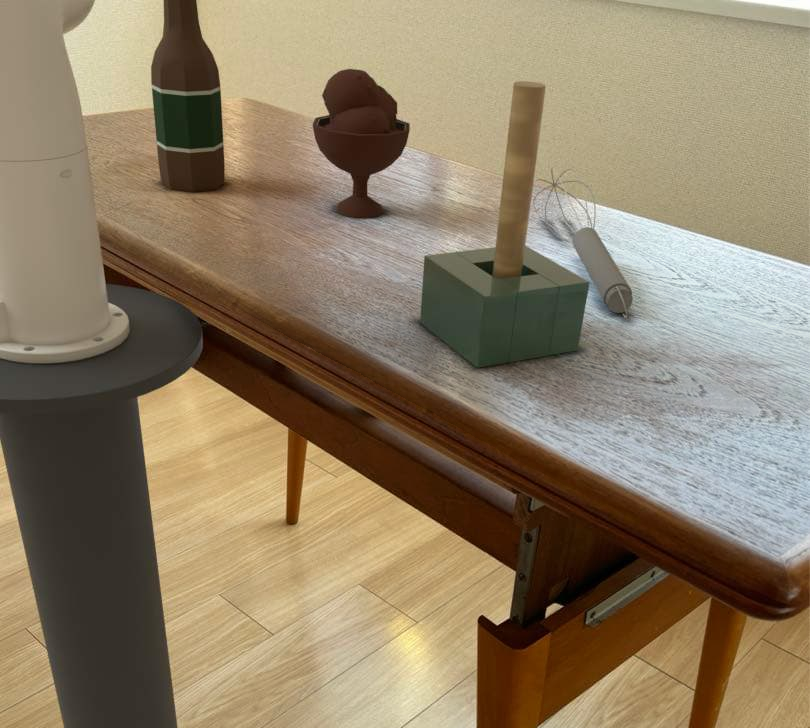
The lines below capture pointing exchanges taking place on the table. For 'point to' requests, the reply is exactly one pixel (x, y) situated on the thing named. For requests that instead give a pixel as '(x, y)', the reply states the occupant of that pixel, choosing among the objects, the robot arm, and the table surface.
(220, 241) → the table surface
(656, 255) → the table surface
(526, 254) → the holder
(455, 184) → the table surface
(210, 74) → the beer bottle
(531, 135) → the stick
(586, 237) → the kitchen whisk
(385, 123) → the ice cream bowl
